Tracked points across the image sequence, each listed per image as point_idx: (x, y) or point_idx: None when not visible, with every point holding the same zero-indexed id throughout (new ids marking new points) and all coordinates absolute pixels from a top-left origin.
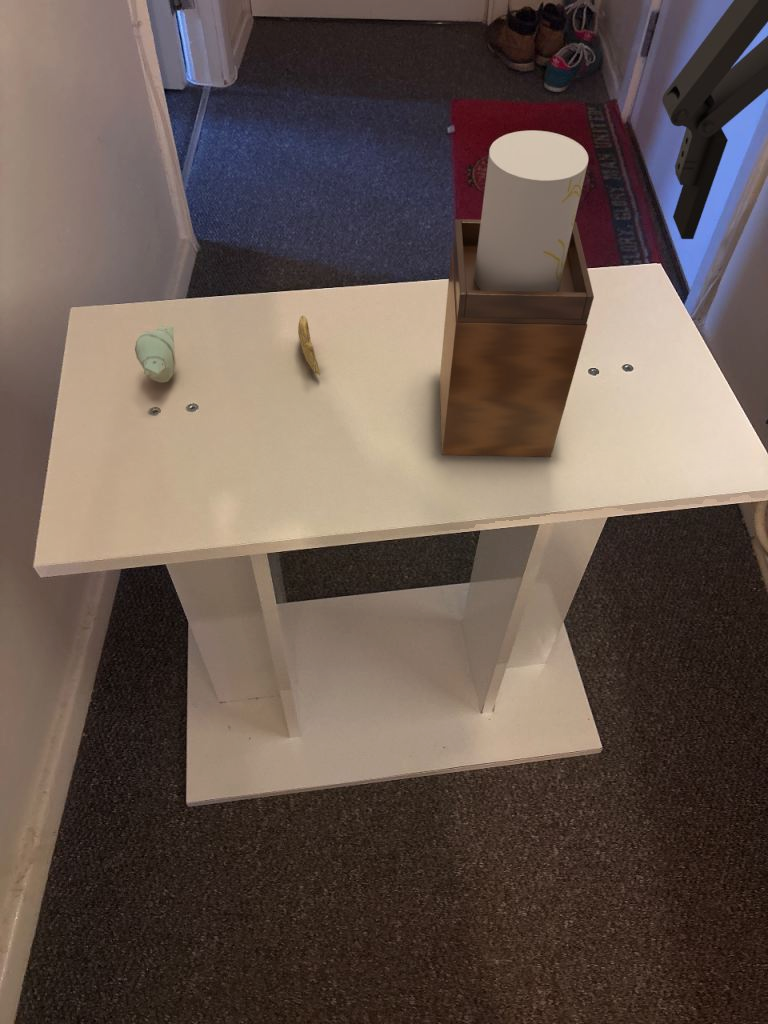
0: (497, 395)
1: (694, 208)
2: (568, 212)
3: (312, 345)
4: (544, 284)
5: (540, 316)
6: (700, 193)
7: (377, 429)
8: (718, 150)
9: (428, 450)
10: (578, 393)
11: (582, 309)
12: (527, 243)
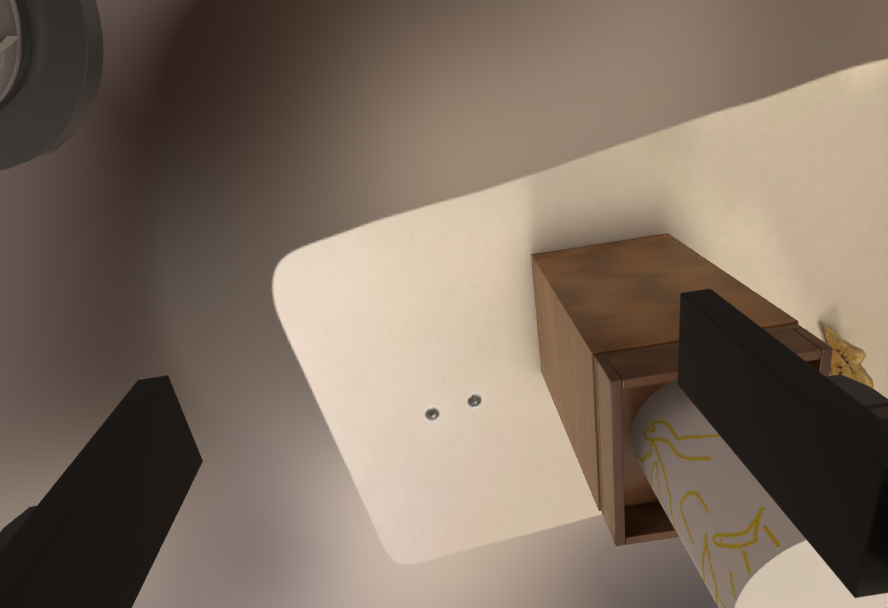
0: (652, 279)
1: (752, 329)
2: (726, 499)
3: (858, 355)
4: (680, 402)
5: (674, 349)
6: (778, 352)
7: (748, 259)
8: (877, 436)
9: (685, 237)
10: (493, 362)
11: (615, 366)
12: None
